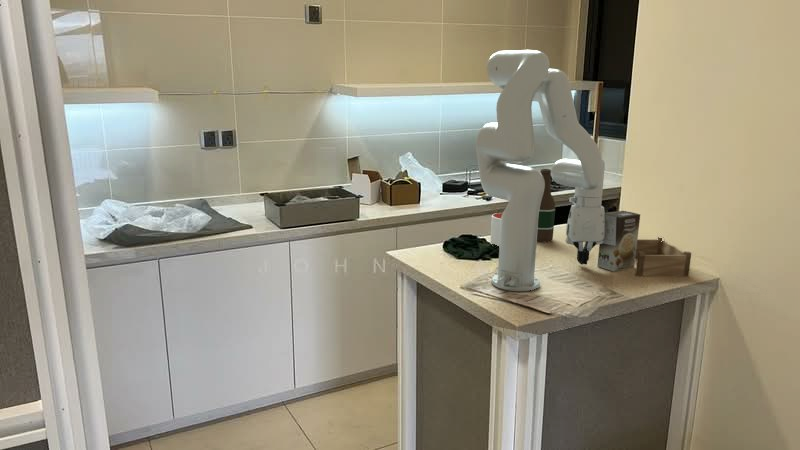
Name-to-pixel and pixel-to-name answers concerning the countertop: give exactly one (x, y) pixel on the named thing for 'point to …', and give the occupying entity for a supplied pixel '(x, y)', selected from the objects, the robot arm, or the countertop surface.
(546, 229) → the beer bottle
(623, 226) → the coffee box
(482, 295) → the countertop surface
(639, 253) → the crate
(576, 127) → the robot arm
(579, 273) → the countertop surface
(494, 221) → the cup
